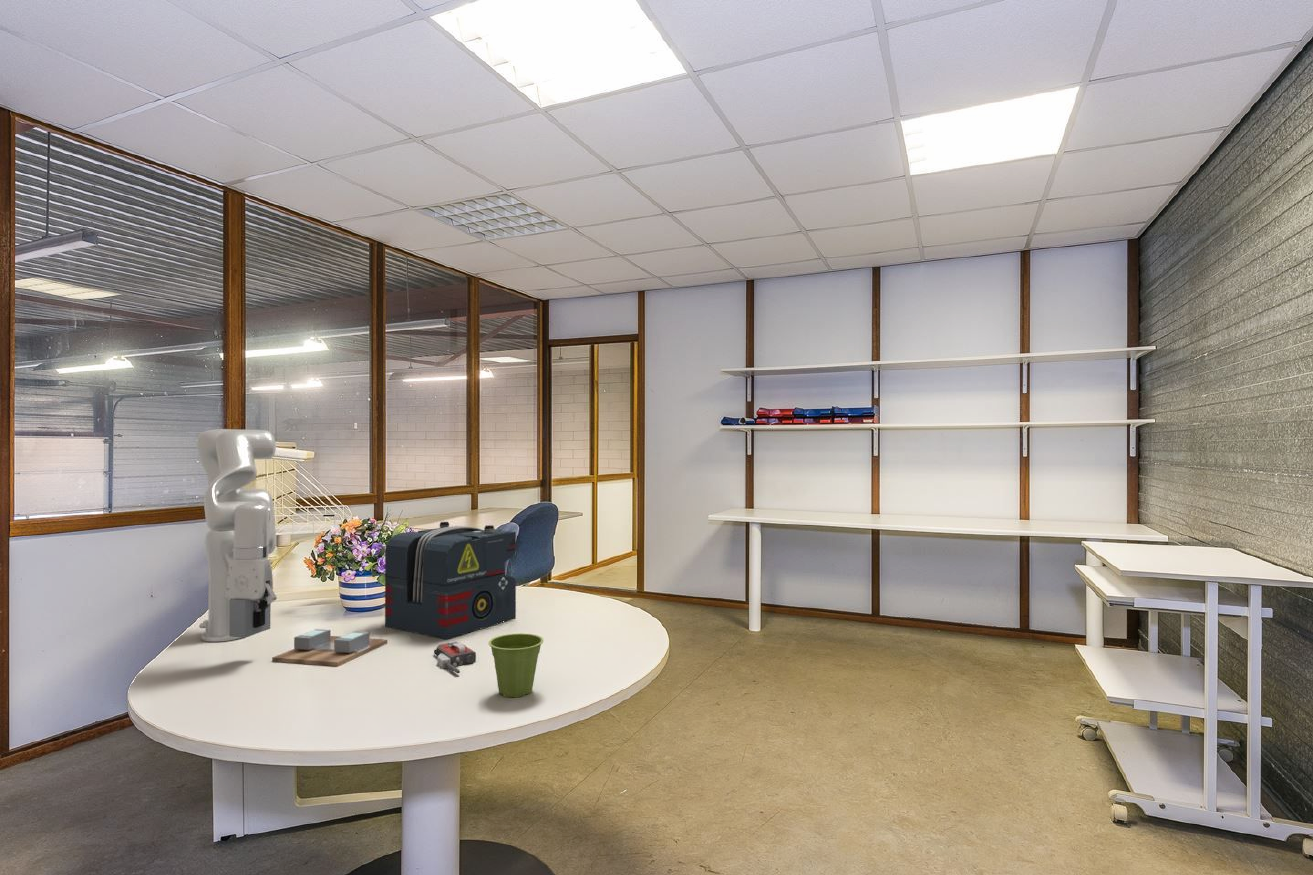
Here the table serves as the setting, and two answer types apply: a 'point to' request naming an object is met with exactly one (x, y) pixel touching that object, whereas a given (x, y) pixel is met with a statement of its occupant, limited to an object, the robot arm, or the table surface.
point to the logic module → (245, 618)
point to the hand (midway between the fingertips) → (250, 624)
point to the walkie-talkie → (454, 655)
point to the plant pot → (515, 662)
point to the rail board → (329, 648)
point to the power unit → (449, 580)
